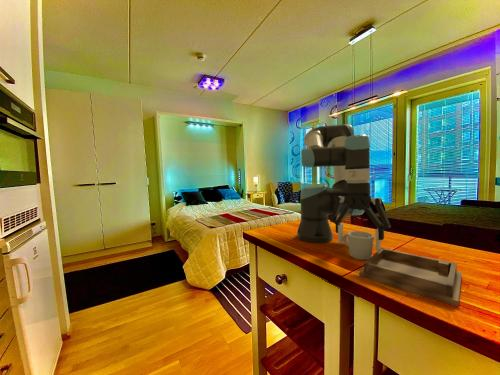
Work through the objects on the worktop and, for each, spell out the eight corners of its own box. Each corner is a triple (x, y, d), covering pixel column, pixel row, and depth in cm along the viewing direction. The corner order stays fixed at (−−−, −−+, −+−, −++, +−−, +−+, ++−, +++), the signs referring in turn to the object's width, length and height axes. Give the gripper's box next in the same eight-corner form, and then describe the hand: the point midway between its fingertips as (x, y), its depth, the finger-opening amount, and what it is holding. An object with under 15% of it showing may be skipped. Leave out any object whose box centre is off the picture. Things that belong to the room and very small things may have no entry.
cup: (336, 252, 78) (336, 230, 77) (352, 248, 81) (352, 228, 80) (362, 263, 68) (362, 239, 67) (379, 259, 71) (379, 235, 70)
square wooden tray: (359, 276, 60) (359, 263, 60) (378, 257, 73) (378, 246, 72) (458, 306, 46) (458, 290, 46) (461, 276, 58) (462, 263, 58)
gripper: (319, 183, 78) (320, 241, 80) (396, 182, 61) (396, 257, 62) (328, 181, 84) (330, 237, 85) (402, 180, 67) (402, 250, 68)
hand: (358, 245), depth 74 cm, fingers open, 11 cm apart
